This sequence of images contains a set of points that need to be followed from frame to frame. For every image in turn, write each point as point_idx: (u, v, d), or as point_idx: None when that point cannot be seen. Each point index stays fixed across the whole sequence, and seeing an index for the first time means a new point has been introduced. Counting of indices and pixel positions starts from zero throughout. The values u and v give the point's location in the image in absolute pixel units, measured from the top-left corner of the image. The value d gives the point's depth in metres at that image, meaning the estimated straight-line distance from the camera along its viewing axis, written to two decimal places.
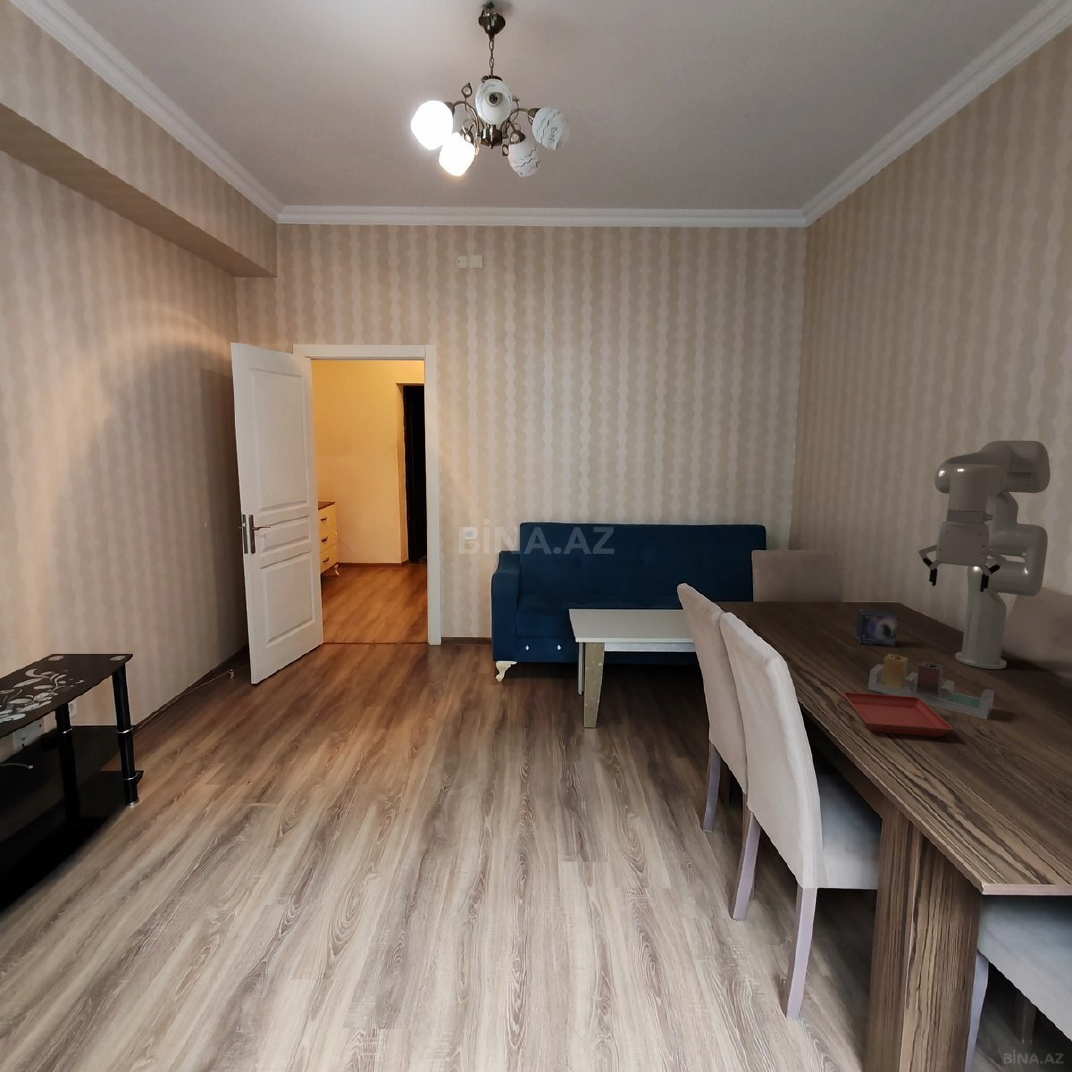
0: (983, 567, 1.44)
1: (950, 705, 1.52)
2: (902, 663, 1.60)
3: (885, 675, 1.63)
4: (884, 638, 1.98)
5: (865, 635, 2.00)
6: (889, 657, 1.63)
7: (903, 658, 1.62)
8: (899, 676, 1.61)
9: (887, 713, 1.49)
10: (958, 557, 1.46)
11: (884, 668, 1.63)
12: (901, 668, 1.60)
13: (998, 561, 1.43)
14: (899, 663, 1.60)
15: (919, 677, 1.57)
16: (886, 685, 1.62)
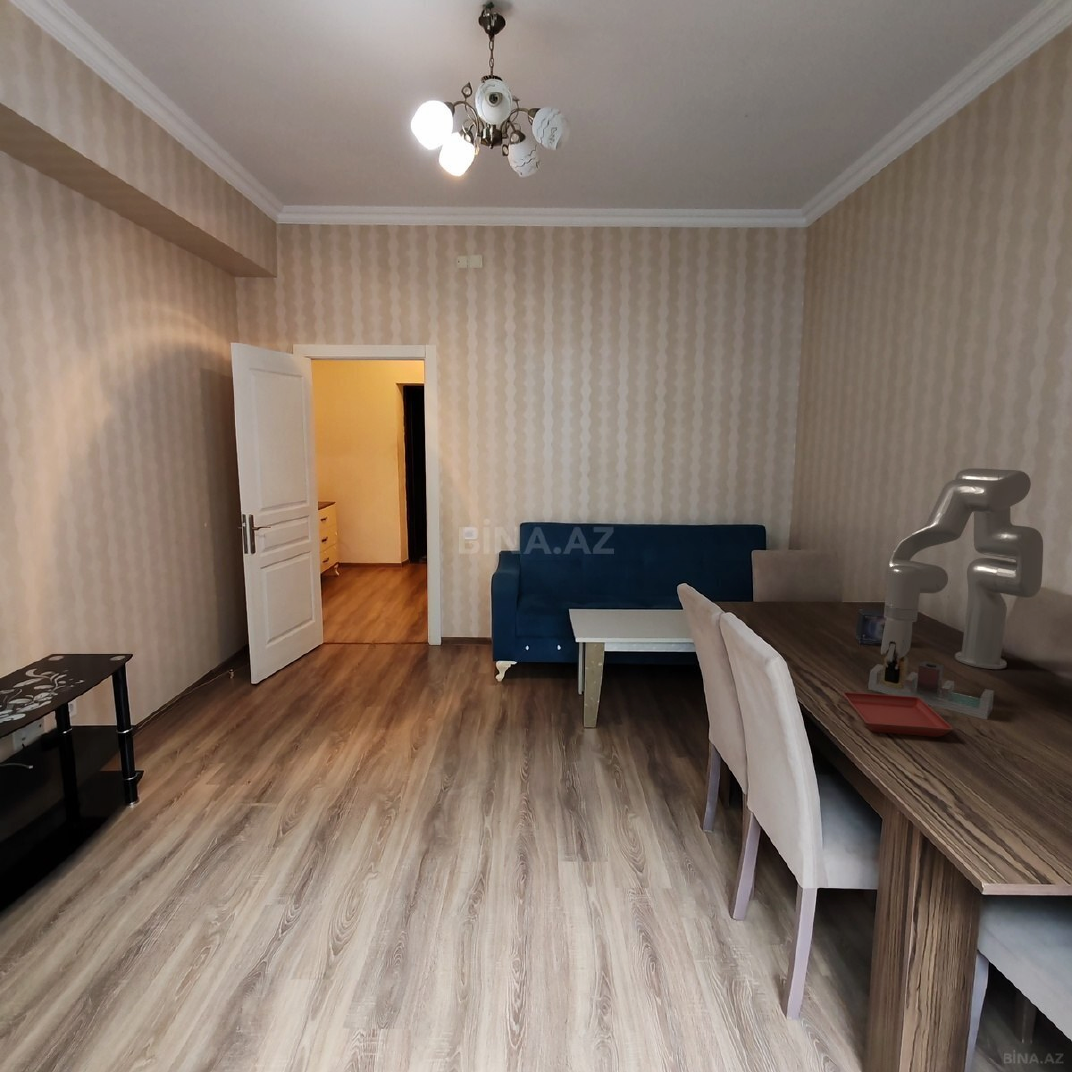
0: (905, 655, 1.64)
1: (950, 705, 1.52)
2: (902, 663, 1.60)
3: None
4: None
5: (865, 635, 2.00)
6: None
7: (903, 658, 1.62)
8: (899, 676, 1.61)
9: (887, 713, 1.49)
10: (906, 649, 1.60)
11: (884, 668, 1.63)
12: (901, 668, 1.60)
13: None
14: (899, 663, 1.60)
15: (919, 677, 1.57)
16: (886, 685, 1.62)
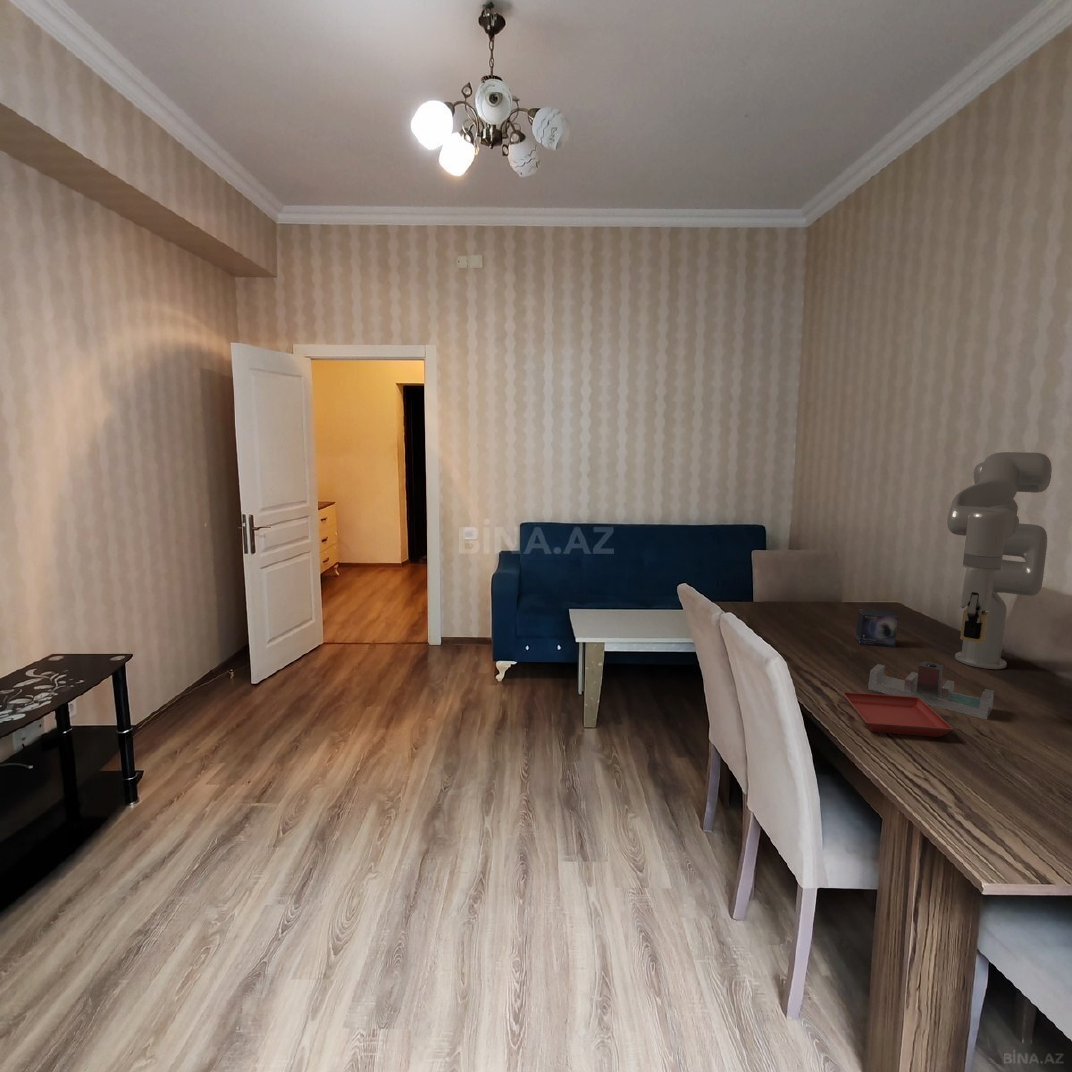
0: (985, 609, 1.50)
1: (950, 705, 1.52)
2: (984, 616, 1.46)
3: None
4: (884, 638, 1.98)
5: (865, 635, 2.00)
6: None
7: (985, 612, 1.48)
8: None
9: (887, 713, 1.49)
10: (988, 601, 1.47)
11: (963, 623, 1.49)
12: (983, 622, 1.47)
13: None
14: None
15: (919, 677, 1.57)
16: (886, 685, 1.62)
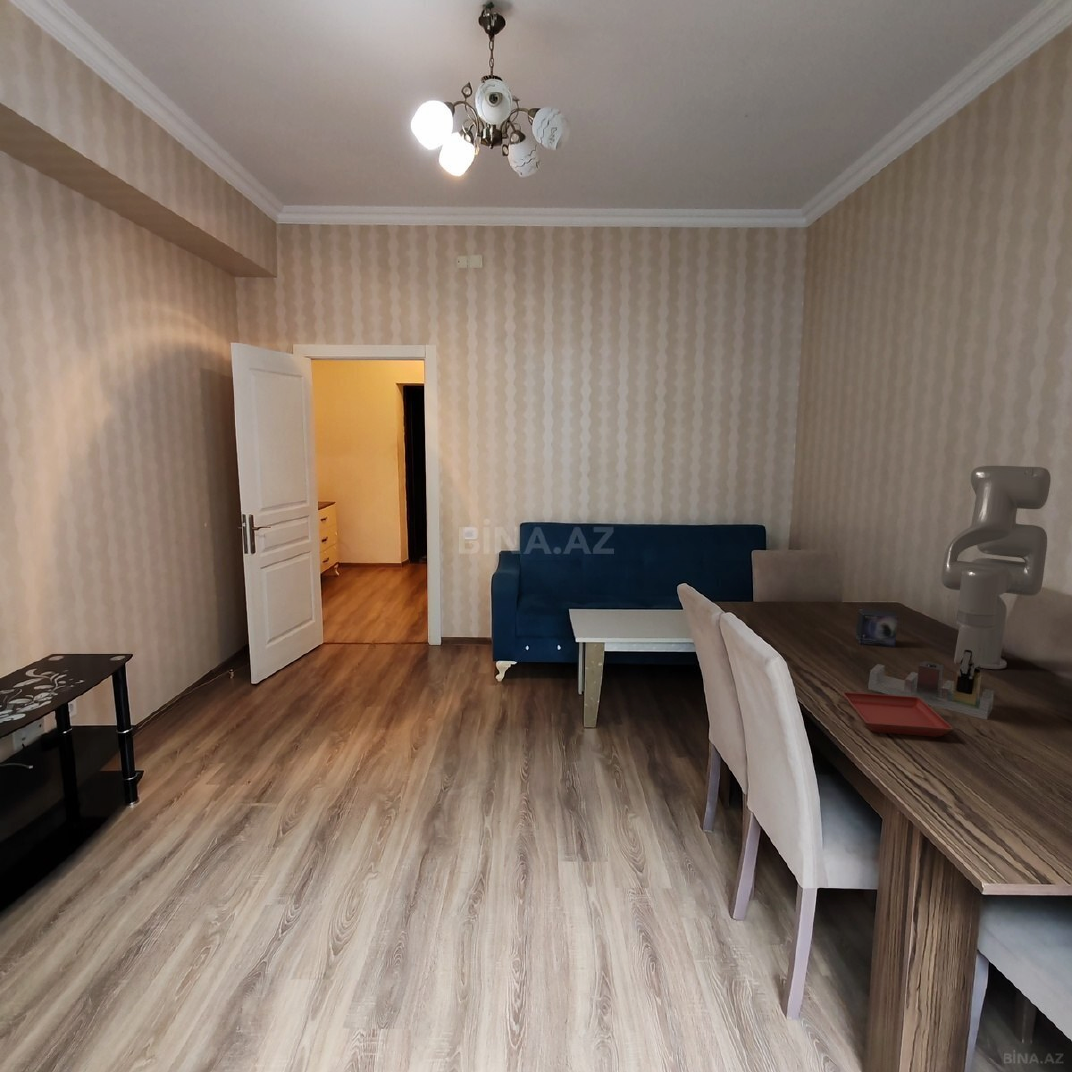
0: None
1: (950, 705, 1.52)
2: (977, 679, 1.49)
3: None
4: (884, 638, 1.98)
5: (865, 635, 2.00)
6: None
7: (977, 674, 1.51)
8: (973, 694, 1.50)
9: (887, 713, 1.49)
10: (981, 658, 1.49)
11: (956, 684, 1.52)
12: (975, 685, 1.49)
13: None
14: None
15: (919, 677, 1.57)
16: (886, 685, 1.62)
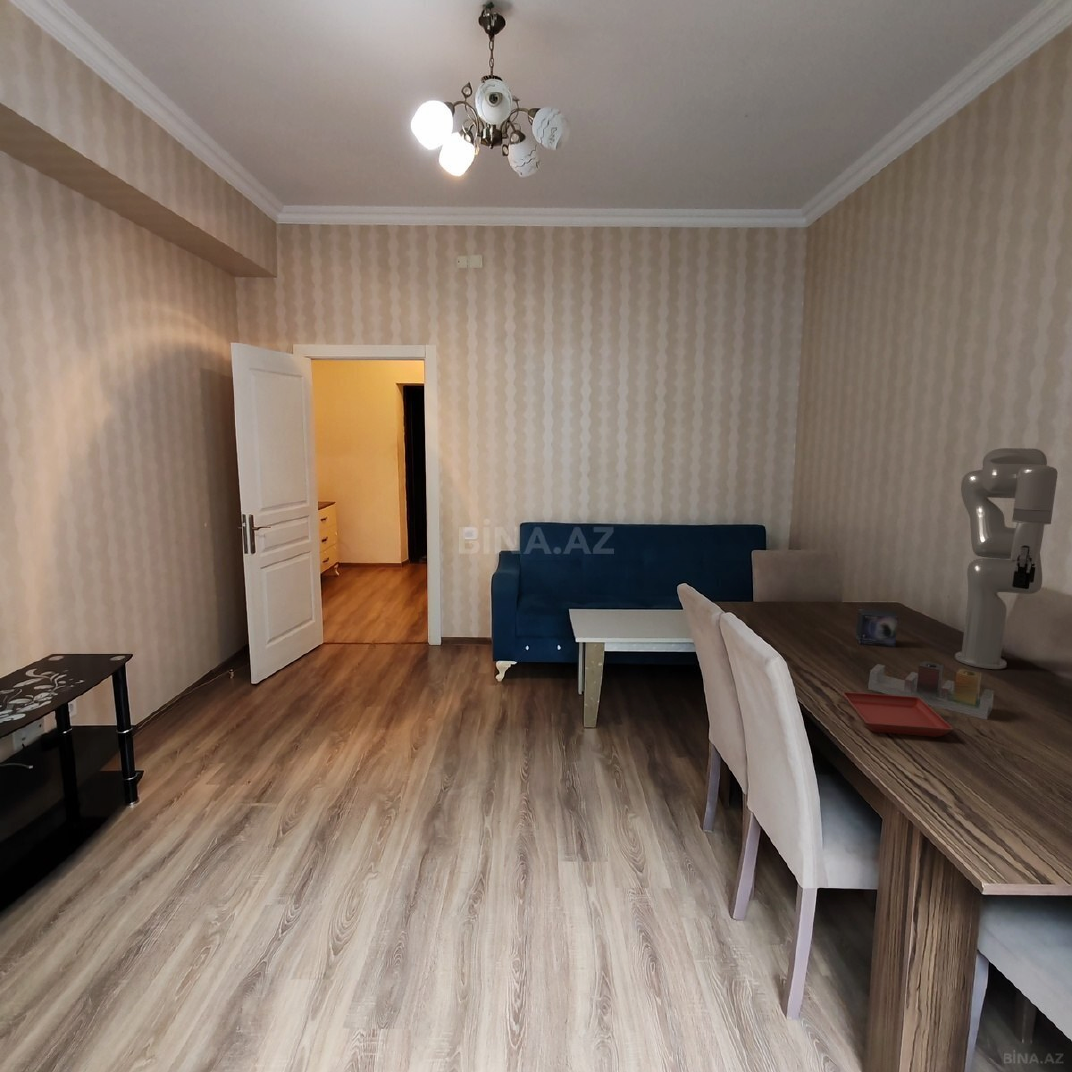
0: None
1: (950, 705, 1.52)
2: (977, 679, 1.49)
3: (957, 691, 1.52)
4: (884, 638, 1.98)
5: (865, 635, 2.00)
6: (961, 672, 1.52)
7: (977, 674, 1.51)
8: (973, 694, 1.50)
9: (886, 713, 1.49)
10: (1038, 555, 1.51)
11: (956, 684, 1.52)
12: (975, 685, 1.49)
13: None
14: (973, 679, 1.49)
15: (919, 677, 1.57)
16: (886, 685, 1.62)
